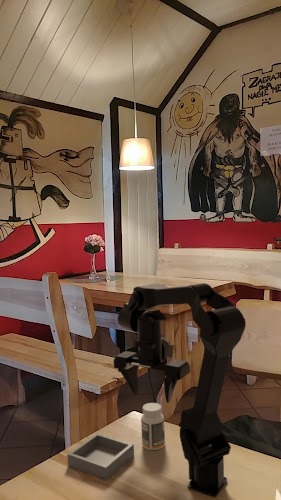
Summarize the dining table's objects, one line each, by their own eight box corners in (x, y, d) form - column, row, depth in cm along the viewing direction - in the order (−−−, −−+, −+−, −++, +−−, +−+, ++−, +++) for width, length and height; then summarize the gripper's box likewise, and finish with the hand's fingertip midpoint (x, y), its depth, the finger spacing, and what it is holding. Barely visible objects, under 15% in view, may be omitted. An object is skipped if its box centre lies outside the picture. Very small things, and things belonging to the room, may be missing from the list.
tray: (134, 456, 106) (133, 444, 106) (106, 480, 97) (105, 467, 97) (97, 444, 112) (96, 432, 112) (68, 466, 103) (67, 454, 103)
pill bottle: (165, 439, 114) (164, 401, 113) (164, 451, 108) (163, 412, 107) (143, 439, 114) (141, 401, 113) (141, 451, 108) (139, 411, 108)
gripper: (199, 332, 110) (200, 393, 112) (135, 324, 120) (137, 380, 122) (178, 344, 101) (180, 411, 102) (110, 335, 111) (113, 396, 112)
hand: (151, 398), depth 110 cm, fingers open, 9 cm apart
